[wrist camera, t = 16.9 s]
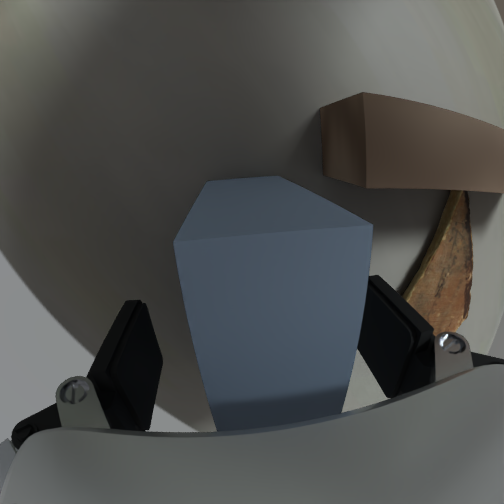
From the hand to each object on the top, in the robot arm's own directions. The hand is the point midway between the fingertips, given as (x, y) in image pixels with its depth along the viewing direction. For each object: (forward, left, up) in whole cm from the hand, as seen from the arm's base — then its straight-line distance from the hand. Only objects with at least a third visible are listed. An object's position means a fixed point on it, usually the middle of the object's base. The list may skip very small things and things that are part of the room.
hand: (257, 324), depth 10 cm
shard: (+2, +10, -4) cm, 11 cm away
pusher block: (0, 0, -3) cm, 3 cm away
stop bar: (-6, +11, -3) cm, 13 cm away
